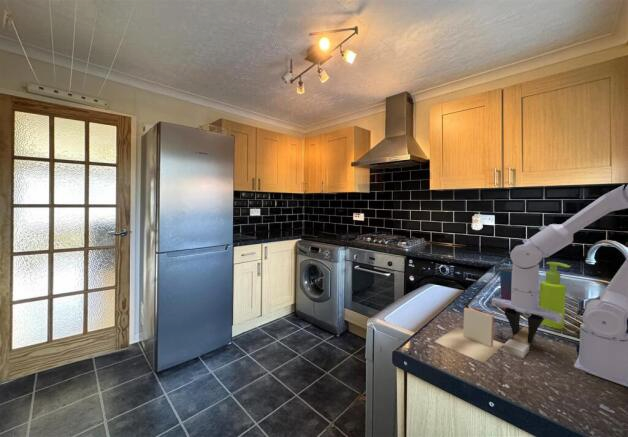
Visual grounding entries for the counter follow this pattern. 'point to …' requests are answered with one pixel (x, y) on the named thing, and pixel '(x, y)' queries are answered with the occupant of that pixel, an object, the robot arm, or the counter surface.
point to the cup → (505, 283)
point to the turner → (518, 344)
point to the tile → (478, 326)
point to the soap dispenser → (553, 294)
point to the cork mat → (468, 345)
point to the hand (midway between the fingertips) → (523, 339)
